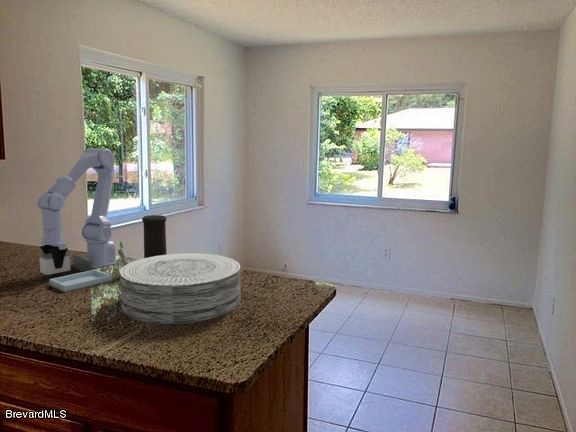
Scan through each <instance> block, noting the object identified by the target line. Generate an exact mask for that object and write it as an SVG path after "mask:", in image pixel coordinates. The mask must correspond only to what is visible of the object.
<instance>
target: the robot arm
mask: <svg viewBox="0 0 576 432" xmlns="http://www.w3.org/2000/svg"><path fill="white" fill-rule="evenodd" d="M115 159H116V156H115V155H114V153H113V152H112V150H111V149H110V148H106V147H105V148H99V147H98V148H97V147H95V148H93V147H87V148H86V149H85V150H84V151H83V152H82V153H81V154H80V158H79V159H78V161H77V162H76V163H75V165H73V167H72V168H71V169H70V171H69V172H68V173H67V174H66V176H64V175H63V176H60V177H57V178H56V182H55V183H54V184H53V185H52V186H51V187H49V188H48V189H47V192H45V193H44V192H43V193H42V194H41V195H40V196H39V197H38V200H37V201H36V205H37V206H38V208H39V209H40V213H41V216H42V217H41V218H42V230H43V237H41V241H40V246H39V248H40V249H41V251H42V252H43V254H49V253H51V255H52V257H53V261H54V266H55V269H58V268H62V266H63V261H64V257H65V254H66V252H67V253H68V250H69V248H68V247H67V243H66V242H65V241H64V239H63V228H62V227H63V225H62V208H63V207H64V206H65V201H66V199H67V197H68V196H69V195H70V194H71V193H72V192H73V190H74V189H75V188H76V182H77V181H78V180H79V179H80V178H81V177H82V176H83V175H84V174H85V172H87V171H88V170H89V169H90V168H92V170H94V171H95V172H96V173H97V175H98V176H97V181H96V187H95V192H94V197H93V204H92V209H91V215H90V216H89V217H88V218H87V219H85V223H84V225H83V227H82V229H81V235H82V237H83V239H85V242H86V248H87V250H86V251H87V259H89V260H92V269H98V268H103V267H106V266H111V265H116V264H117V263H118V262H117V260H116V246H115V243H114V241H113V240H110V239H111V238H112V227H111V226H112V223H111V221H110V220H109V219H108V213H109V205H110V200H111V196H112V189H113V183H114V179H115V165H114V164H115Z"/></svg>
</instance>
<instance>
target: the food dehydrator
mask: <svg viewBox="0 0 576 432" xmlns="http://www.w3.org/2000/svg"><path fill="white" fill-rule="evenodd" d="M119 247H120V249H118V250H117V252H118V255H119V256H120V259H121V261H122V264H123V267H121V269H120V270H119V278H120V279H119V281H120V282H119V283H120V284H119V285H120V298H121V299H120V302H121V305H120V306H121V310H122V312H123V314H124V315H125V316H127V317H128V318H131V319H133V320H135V321H137V322H138V321H139V322H143V323H148V324H157V325H181V324H183V325H184V324H192V323H200V322H206V321H210V320H214V319H217V318H221V317H223V316H225V315H228V314H230V313H231V312H233V311H234V310H236V309H237V308H238V307H239V306H240V305H241V265H240V263H239V262H238V261H237V260H236V259H233V258H230V257H227V256H223V255H219V254H211V253H198V252H197V253H195V252H194V253H189V252H188V253H170V254H167V255H160V256H154V257H148V258H144V257H143V258H141V259H137V260H135V261H131V262H129V263H128V260H127V259H126V256H125V253H124V251H123V247H124V245H123V243H122V241H120V242H119Z"/></svg>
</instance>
